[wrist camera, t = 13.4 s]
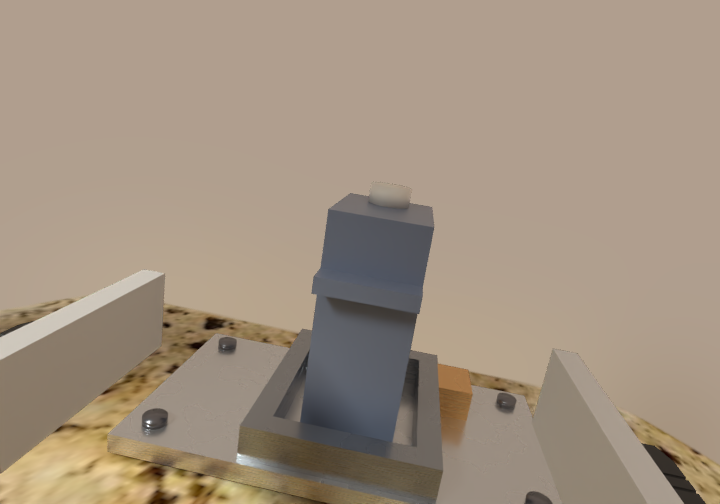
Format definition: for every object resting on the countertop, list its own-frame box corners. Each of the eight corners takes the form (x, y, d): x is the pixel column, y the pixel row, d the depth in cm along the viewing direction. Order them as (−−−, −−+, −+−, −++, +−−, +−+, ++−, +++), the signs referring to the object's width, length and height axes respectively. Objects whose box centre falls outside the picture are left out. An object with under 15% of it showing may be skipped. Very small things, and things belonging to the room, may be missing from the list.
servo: (290, 454, 23) (325, 190, 20) (328, 366, 32) (356, 174, 28) (387, 476, 22) (439, 209, 19) (398, 380, 31) (434, 187, 28)
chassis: (107, 451, 23) (108, 400, 22) (215, 345, 34) (217, 310, 33) (574, 560, 21) (592, 508, 20) (520, 408, 32) (530, 372, 31)
